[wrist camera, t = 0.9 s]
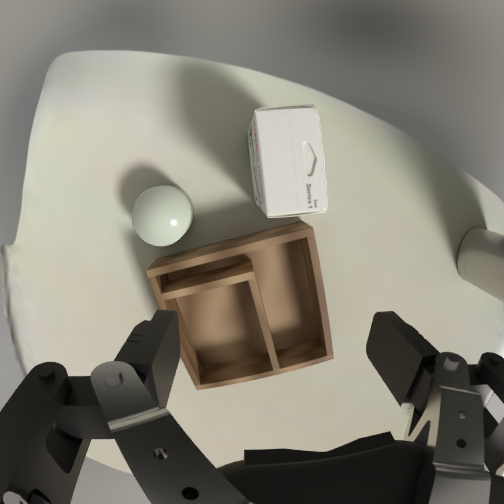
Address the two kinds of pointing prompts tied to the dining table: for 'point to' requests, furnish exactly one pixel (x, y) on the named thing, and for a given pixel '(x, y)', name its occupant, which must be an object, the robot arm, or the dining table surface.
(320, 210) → the ink box
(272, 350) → the organizer
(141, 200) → the white domed round part
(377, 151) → the dining table surface
